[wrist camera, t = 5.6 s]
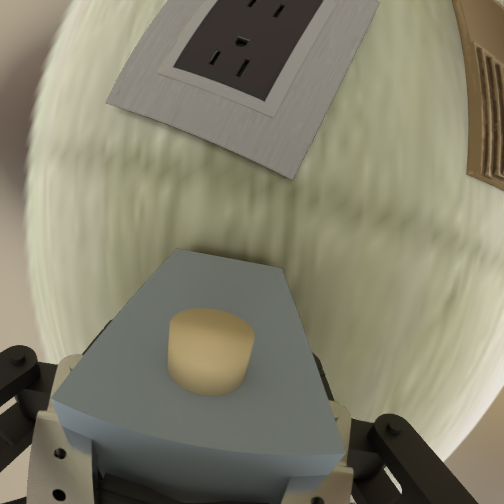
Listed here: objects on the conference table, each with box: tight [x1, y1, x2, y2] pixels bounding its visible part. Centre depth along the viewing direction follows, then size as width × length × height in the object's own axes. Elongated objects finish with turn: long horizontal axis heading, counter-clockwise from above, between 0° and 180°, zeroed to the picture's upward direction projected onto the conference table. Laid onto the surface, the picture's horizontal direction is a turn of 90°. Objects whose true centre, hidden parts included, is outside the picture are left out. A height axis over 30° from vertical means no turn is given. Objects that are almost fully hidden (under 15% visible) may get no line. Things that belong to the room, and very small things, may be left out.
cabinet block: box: [51, 249, 345, 504], centre depth 9 cm, size 5×6×10 cm
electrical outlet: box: [106, 0, 380, 180], centre depth 11 cm, size 13×10×2 cm
